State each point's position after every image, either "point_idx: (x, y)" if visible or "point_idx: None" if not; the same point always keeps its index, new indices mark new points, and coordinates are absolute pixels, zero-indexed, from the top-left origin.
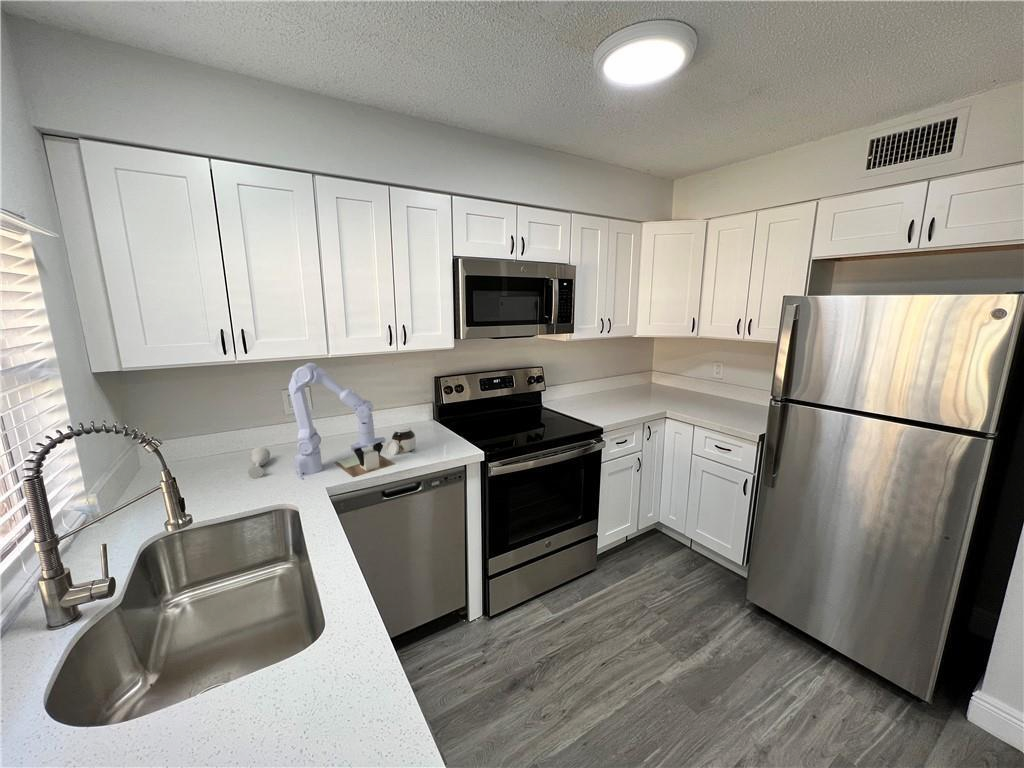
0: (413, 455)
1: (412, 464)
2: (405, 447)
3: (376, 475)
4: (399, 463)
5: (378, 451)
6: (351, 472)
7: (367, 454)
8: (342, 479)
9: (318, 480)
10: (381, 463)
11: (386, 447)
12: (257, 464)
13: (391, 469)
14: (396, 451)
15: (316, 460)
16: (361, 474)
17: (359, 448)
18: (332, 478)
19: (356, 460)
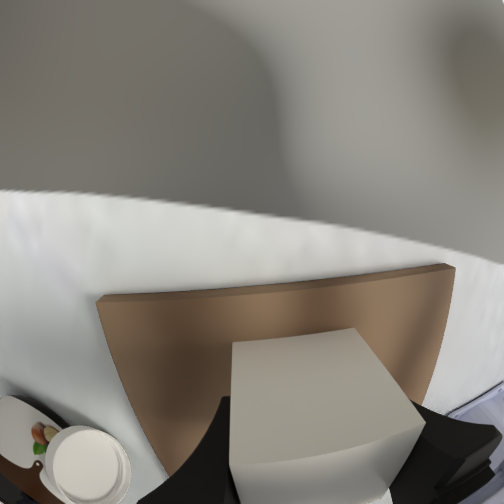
0: (10, 360)
1: (17, 242)
2: (21, 424)
3: (308, 222)
4: (76, 323)
5: (213, 472)
6: (424, 352)
7: (386, 443)
8: (466, 308)
9: (498, 352)
10: (194, 386)
11: (121, 492)
12: None
13: (151, 259)
14: (68, 434)
15: (501, 441)
16: (409, 279)
17: (463, 497)
18: (475, 346)
19: None
